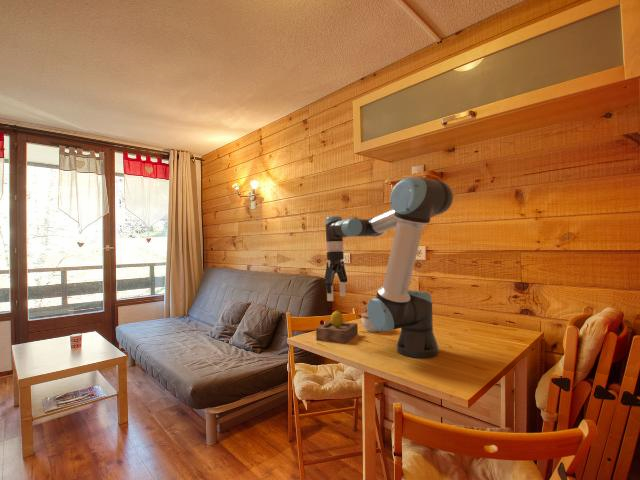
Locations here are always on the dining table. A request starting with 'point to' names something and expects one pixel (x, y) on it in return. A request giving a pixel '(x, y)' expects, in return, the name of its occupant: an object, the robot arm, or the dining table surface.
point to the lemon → (336, 319)
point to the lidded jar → (367, 323)
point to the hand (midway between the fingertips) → (336, 298)
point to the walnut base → (337, 332)
